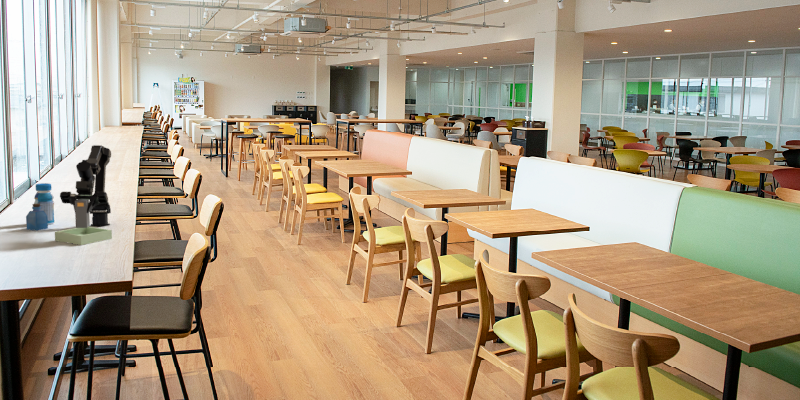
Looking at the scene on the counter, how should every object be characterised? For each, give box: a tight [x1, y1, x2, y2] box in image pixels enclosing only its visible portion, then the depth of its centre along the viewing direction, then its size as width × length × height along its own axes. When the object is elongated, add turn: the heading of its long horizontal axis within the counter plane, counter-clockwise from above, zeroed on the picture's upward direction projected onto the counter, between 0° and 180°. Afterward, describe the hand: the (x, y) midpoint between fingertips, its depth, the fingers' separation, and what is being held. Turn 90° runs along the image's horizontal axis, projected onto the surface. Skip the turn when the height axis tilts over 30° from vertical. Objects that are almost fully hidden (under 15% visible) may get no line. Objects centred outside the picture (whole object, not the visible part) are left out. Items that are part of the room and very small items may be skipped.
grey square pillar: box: [74, 199, 91, 228], centre depth 266 cm, size 5×4×12 cm
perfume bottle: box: [25, 203, 49, 232], centre depth 286 cm, size 6×6×12 cm
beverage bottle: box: [33, 183, 55, 226], centre depth 298 cm, size 8×8×20 cm
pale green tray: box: [54, 226, 113, 246], centre depth 268 cm, size 16×16×4 cm
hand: (81, 212), depth 265 cm, fingers closed on grey square pillar, 4 cm apart
